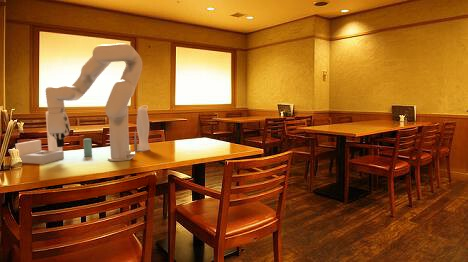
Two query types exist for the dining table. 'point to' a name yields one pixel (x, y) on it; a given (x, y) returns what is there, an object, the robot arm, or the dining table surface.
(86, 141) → the dowel
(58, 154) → the socket block
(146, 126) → the white bottle
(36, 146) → the wall
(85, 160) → the dining table surface
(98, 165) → the dining table surface
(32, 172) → the dining table surface
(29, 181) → the dining table surface
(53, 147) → the cylindrical container
